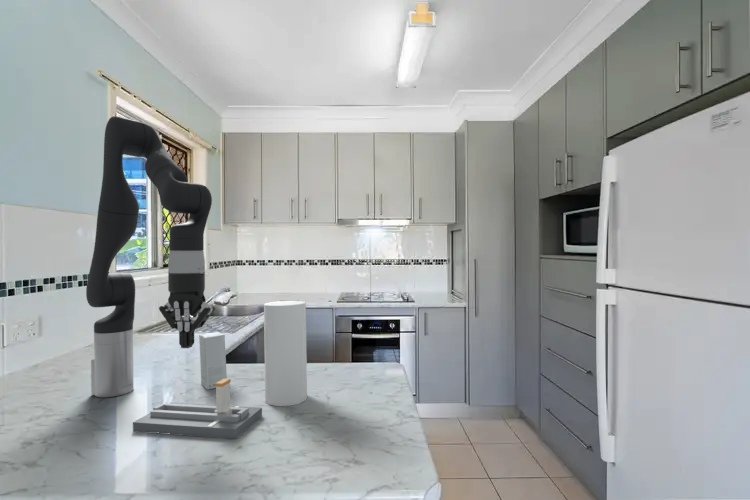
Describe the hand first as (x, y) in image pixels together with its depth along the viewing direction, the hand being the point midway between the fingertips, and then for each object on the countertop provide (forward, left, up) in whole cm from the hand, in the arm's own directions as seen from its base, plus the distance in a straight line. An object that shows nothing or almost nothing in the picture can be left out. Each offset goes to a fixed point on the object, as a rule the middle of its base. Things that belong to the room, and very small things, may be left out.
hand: (186, 347), depth 94 cm
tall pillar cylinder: (+16, +18, -17) cm, 30 cm away
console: (+3, 0, -17) cm, 17 cm away
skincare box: (-10, +26, -17) cm, 33 cm away
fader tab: (+9, 0, -15) cm, 17 cm away
